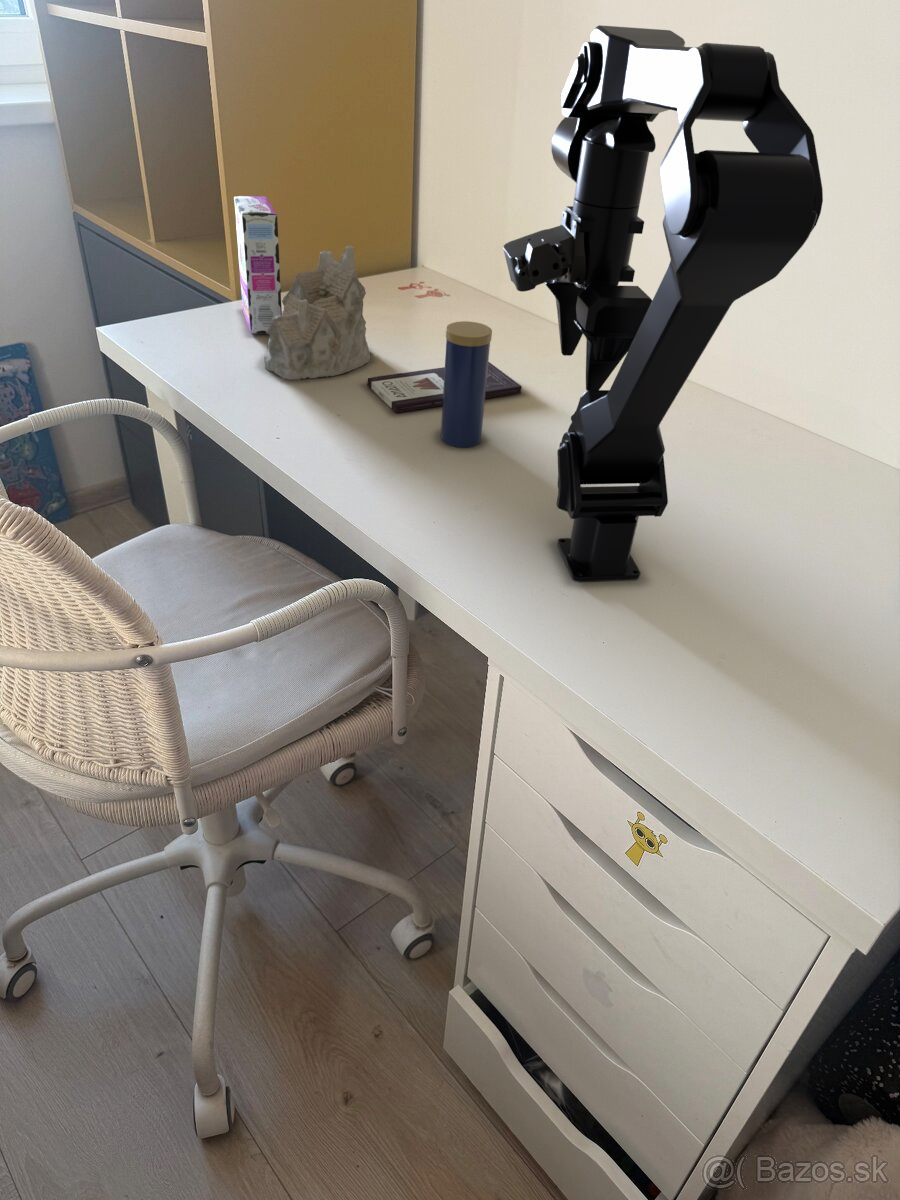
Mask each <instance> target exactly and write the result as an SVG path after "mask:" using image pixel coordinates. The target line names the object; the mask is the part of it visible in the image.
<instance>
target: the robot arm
mask: <svg viewBox="0 0 900 1200" xmlns="http://www.w3.org/2000/svg"><path fill="white" fill-rule="evenodd" d="M589 37H590V39H589V41H584V42H583V44H582V45H581V48H580V50H579V53H578V56H577V57H576V59H575V60H574V62H573V65H572V67H571V69H570V72H569V74H568V77H567V79H566V81H565V84H564V86H563V88H562V91H561V94H560V98H561V99H560V102H561V115H562V116H563V117H564V118H563V119H562V120H561V121H560V123H559V124H558V125H557V127H556V128H555V131H554V133H553V135H552V138H551V154H552V159H553V161H554V163H555V166H556V167H557V168H558V169H559V170H560V171H561V172H562V173H564V174H565V175H566V176H567V177H568V178H570V179H571V180H572V181H573V182H575V190H574V197H573V204H572V205H571V206H570V205H566V208H565V210H562V213H561V221H560V225H557V226H554V227H550V228H547V229H541V230H539V231H536V232H533V233H530V234H527V235H524V236H522V237H518V238H516V239H513V240H510V241H508V242H506V243H504V244H503V246H502V249H503V253H504V258H505V261H506V266H507V270H508V275H509V277H510V278H509V279H510V281H511V282H512V283H513V284H514V286H515V289H516V291H518V292H523V293H524V292H529V291H531V290H532V291H533V290H535V289H536V288H537V286H540V285H543V284H544V285H545V286H546V287H547V288H548V290H549V291H550V292H551V293H552V295H553V296H554V298H555V306H556V315H557V324H558V330H559V331H558V332H559V343H560V351H561V352H560V353H561V354H562V356H565V357H566V356H567V357H568V356H569V357H570V356H572V355H574V354H575V351H576V349H577V347H578V345H579V343H580V341H581V339H582V337H583V336H584V337H585V338H586V339H585V340H586V345H585V346H586V347H585V348H586V349H585V390H586V391H584V393H583V394H581V396H580V397H579V400H578V404H577V406H576V409H575V411H574V413H573V414H571V416H570V421H571V423H570V424H569V427H568V429H567V431H565V432H564V433H563V435H562V437H561V441H560V442H559V446H558V449H557V454H556V455H557V489H558V490H557V497H556V503H555V505H556V507H557V509H560V510H562V511H563V512H565V513H567V514H568V517H569V518H570V520H573V523H572V528H571V534H570V537H563V538H558V539H557V541H556V546H557V548H558V550H559V552H560V554H561V557H562V559H563V561H564V563H565V566H566V568H567V570H568V573H569V574H570V577H571V579H572V580H573V581H576V582H591V581H592V582H593V581H594V582H595V581H616V580H620V581H621V580H638V579H640V578H641V570H640V569H639V567H638V565H637V564H636V562H635V560H634V558H633V556H632V555H631V552H632V548H633V543H634V539H635V535H636V531H637V526H638V522H639V518H640V517H655V518H656V517H657V518H658V517H659V518H660V517H662V516H663V513H664V512H665V510H666V507H667V506H668V504H669V498H668V487H667V486H668V485H667V478H666V467H665V458H664V455H665V451H666V447H665V443H664V440H663V436H662V431H661V428H660V426H661V424H662V421H663V420H664V419H665V416H666V415H667V413H668V412H669V410H670V408H671V407H672V405H673V403H674V401H675V400H676V398H677V396H678V395H679V393H680V392H681V389H682V388H683V386H684V385H685V383H686V381H687V379H688V378H689V377H690V375H691V373H692V371H693V370H694V368H695V366H696V365H697V363H698V361H699V360H700V359H701V356H702V355H703V353H704V351H705V350H706V348H707V347H708V344H709V343H710V341H711V340H712V338H713V336H714V335H715V333H716V331H717V330H718V328H719V327H720V324H721V323H722V321H723V320H724V318H725V317H726V315H727V313H728V311H729V310H730V308H731V307H732V305H733V303H734V302H735V301H736V300H738V299H740V298H742V297H744V296H745V295H747V294H749V293H751V292H753V291H754V290H756V289H758V288H759V287H761V286H763V285H765V284H767V283H769V282H770V281H772V280H773V279H775V278H776V277H777V276H779V274H780V273H781V272H782V271H783V269H784V268H786V266H787V265H788V264H789V262H790V261H792V259H793V258H794V257H795V255H796V254H797V253H798V252H799V251H800V250H801V249H802V248H803V246H804V244H805V243H806V242H807V240H808V239H809V237H810V236H811V233H812V232H813V230H814V229H815V227H816V226H817V224H818V221H819V218H820V216H821V212H822V209H823V202H824V196H823V195H824V194H823V184H822V178H821V172H820V171H821V170H820V166H819V160H818V153H817V147H816V142H815V136H814V133H813V131H812V129H811V127H810V126H809V124H808V123H807V122H806V121H805V119H804V118H803V116H802V115H801V113H800V112H799V111H798V109H797V108H796V107H795V106H794V104H793V103H792V102H791V100H790V99H789V98H788V97H787V95H786V94H785V92H784V90H782V88H781V85H780V80H779V74H778V67H777V62H776V59H775V56H774V54H772V53H771V52H770V51H765V49H764V47H763V48H762V47H761V46H759V45H757V46H755V45H744V44H729V43H728V44H727V43H712V42H704V43H701V44H700V45H699V46H686V41H685V39H684V38H683V37H681V36H680V35H679V34H677V33H676V32H674V31H672V30H670V29H657V28H646V27H645V28H644V27H643V28H642V27H630V26H629V27H628V26H616V25H615V26H614V25H612V26H611V25H600V24H599V25H597V26H595V28H594V29H592V31H591V32H590V36H589ZM667 111H675V112H677V118H678V129H677V131H676V133H675V135H674V137H673V139H672V141H671V143H670V144H669V147H668V149H667V151H666V153H665V155H664V157H663V159H662V161H661V163H660V166H659V175H660V184H661V191H662V198H663V207H664V217H663V219H662V228H663V232H664V237H665V240H666V245H667V249H668V254H669V258H670V261H669V264H668V267H667V268H666V270H665V273H664V275H663V278H662V279H661V281H660V284H659V286H658V288H657V290H656V292H655V294H654V296H653V298H651V297H650V296H649V295H648V294H647V293H646V292H645V291H644V290H643V289H642V288H641V287H640V286H638V285H620V284H619V283H633V282H634V279H635V273H636V272H635V271H636V270H635V268H633V267H632V266H631V265H630V259H631V255H632V254H631V253H632V248H633V242H634V236H635V234H636V235H638V234H639V235H641V234H643V232H644V227H645V221H644V220H643V219H642V218H641V217H639V216H638V215H639V209H640V204H641V200H642V195H643V189H644V183H645V178H646V173H647V168H648V162H649V158H650V157H649V156H650V153H654V152H655V150H656V147H657V145H656V138H655V136H654V134H653V133H652V132H651V131H652V130H650V128H649V125H648V123H652V122H654V121H655V120H656V118H657V117H658V116H659V114H660V113H664V112H667ZM696 120H699V121H700V120H701V121H703V120H704V121H720V122H740V123H742V127H743V131H744V133H745V135H746V137H747V138H748V140H749V141H750V143H751V144H752V145H753V146H754V148H755V150H756V151H737V150H718V149H717V150H716V149H705V150H701V151H699V152H697V153H696V152H695V147H694V146H695V145H694V139H693V131H692V127H693V125H694V123H695V122H696ZM623 358H624V359H623ZM622 360H623V361H622ZM621 361H622V363H621ZM619 363H621V364H620V365H621V366H620V368H619V369H618V372H617V374H616V376H615V378H614V380H613V382H612V383H611V386H610V389H601V388H602V387H603V385H604V384H605V382H607V380H608V379H609V377H610V376H611V374H612V373H613V372H614V370H615V369H616V368H617V366H618V365H619ZM625 484H626V485H625ZM628 484H634V485H628ZM635 484H638V485H635ZM582 485H601V486H582ZM602 485H610V486H602ZM611 485H612V486H611Z"/></svg>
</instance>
